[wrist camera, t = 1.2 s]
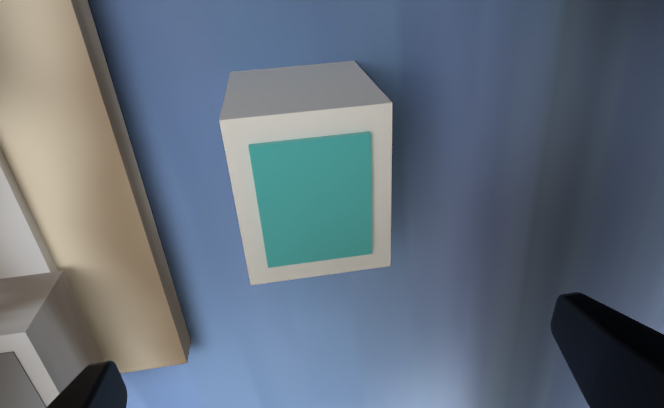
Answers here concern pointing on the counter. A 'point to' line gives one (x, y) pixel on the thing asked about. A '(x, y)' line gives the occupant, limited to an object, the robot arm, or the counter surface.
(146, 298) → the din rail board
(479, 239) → the counter surface
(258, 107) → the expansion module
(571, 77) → the counter surface
